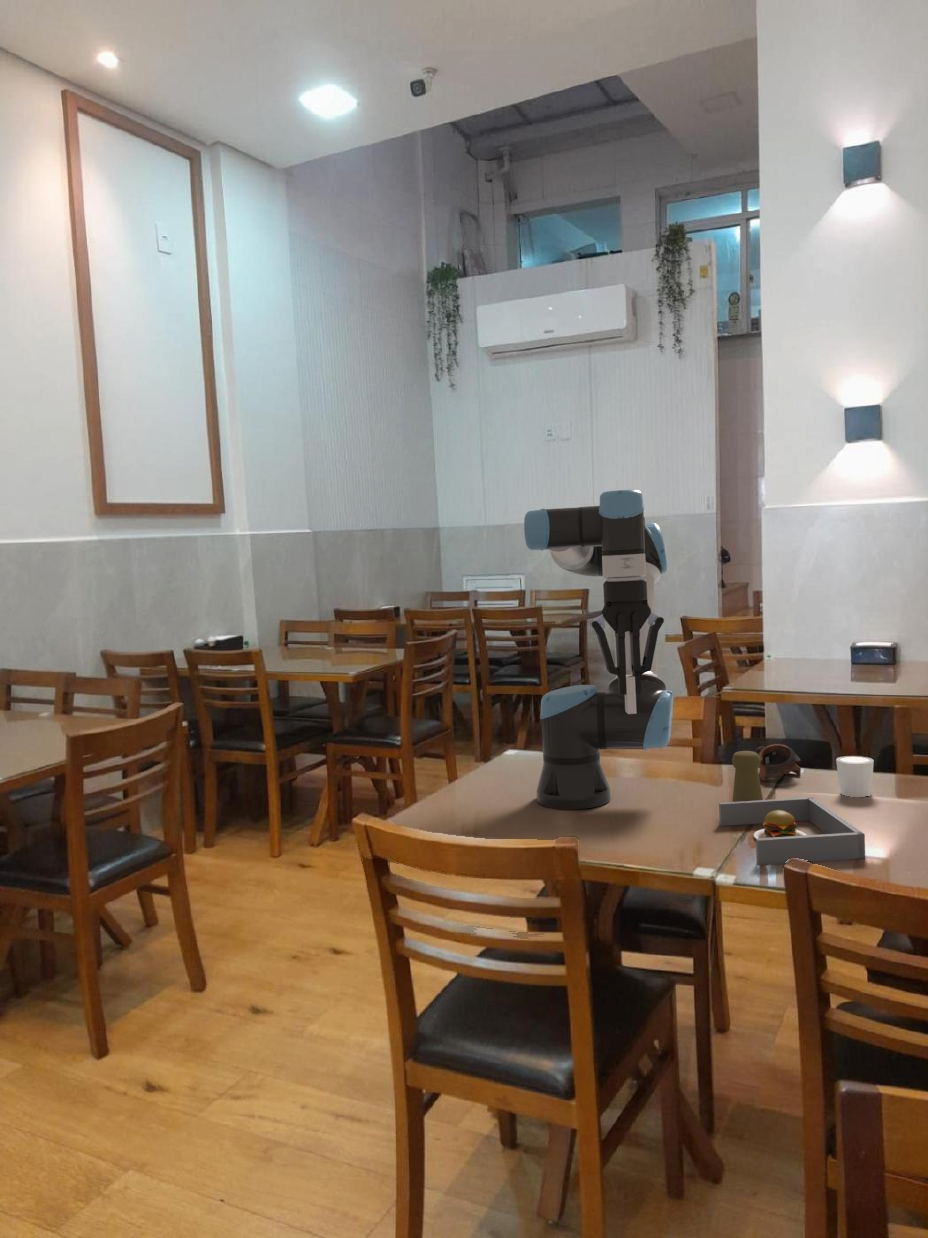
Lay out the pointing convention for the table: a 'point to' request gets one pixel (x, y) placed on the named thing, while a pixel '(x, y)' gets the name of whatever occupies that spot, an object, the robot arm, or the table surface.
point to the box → (831, 846)
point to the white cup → (855, 775)
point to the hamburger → (779, 825)
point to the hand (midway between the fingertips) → (630, 712)
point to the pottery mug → (777, 761)
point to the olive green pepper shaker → (746, 777)
